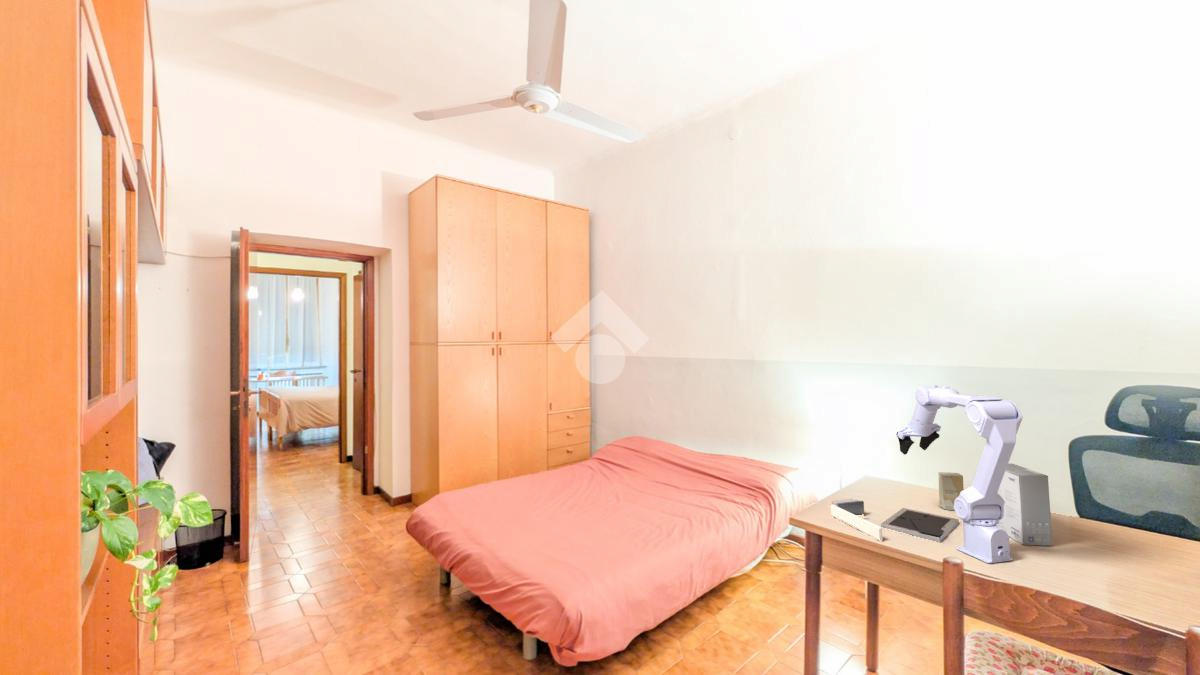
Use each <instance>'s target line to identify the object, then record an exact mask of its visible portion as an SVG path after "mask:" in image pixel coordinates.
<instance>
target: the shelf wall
mask: <svg viewBox="0 0 1200 675" xmlns="http://www.w3.org/2000/svg"><path fill="white" fill-rule="evenodd" d="M831 515H833V516H835V517H838V518H839V519H842V520H844V521H846V522H848V523H850V524H852V525H853V526H855V527H857V528H859V529H860V530H862V531H864V532H866V533H868V534H870V535H872V536H874V537H876V538H877V539H879V540H883V529H882V528H881V526H879V525H877V524H875V523H872V522H871V521H869V520H867V519H862V518H860V517H858V516H856V515H854V514H852V513H850V512H848V511H846V510H844V509H841V508H839V507H837V506H835V505H832V504H830V516H831Z"/></svg>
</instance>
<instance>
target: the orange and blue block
mask: <svg viewBox="0 0 1200 675" xmlns="http://www.w3.org/2000/svg"><path fill="white" fill-rule="evenodd" d="M854 501H860V500H858V499H854V498H849V499H848V498H847V499H839V500H832V501H831V505H835V506H837V503H845V502H854Z"/></svg>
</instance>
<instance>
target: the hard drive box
mask: <svg viewBox="0 0 1200 675" xmlns="http://www.w3.org/2000/svg"><path fill="white" fill-rule="evenodd" d="M1049 487H1050V486H1049V475H1047V474H1044V473H1041V472H1038V471H1035V470H1034V469H1033V470H1032V469H1031V468H1027V467H1023V466H1021V465H1018V464H1015V463H1008V465H1007V468H1006V471H1005V473H1004V476H1003V479H1002V481H1001V484H1000V487H999V490H998V492H997V493H998V494H999V495H1000V496H1001V497H1002V498H1003V500H1004V501H1005V504H1004V516H1003V518H1002V519H1001V520H999V524H996V525H997V526H998V527H999V528H1001V529H1002V530H1004V531H1005V532H1006V533H1007V534H1008V537H1009V538H1010V539H1012V540H1014V541H1016V542H1018V543H1019V544H1021V545H1024V546H1028V545H1029V546H1045V547H1046V546H1049V547H1053V533H1052V532H1053V531H1052V530H1053V529H1052V518H1051V517H1052V516H1051V505H1050V504H1051V502H1050V488H1049Z"/></svg>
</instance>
